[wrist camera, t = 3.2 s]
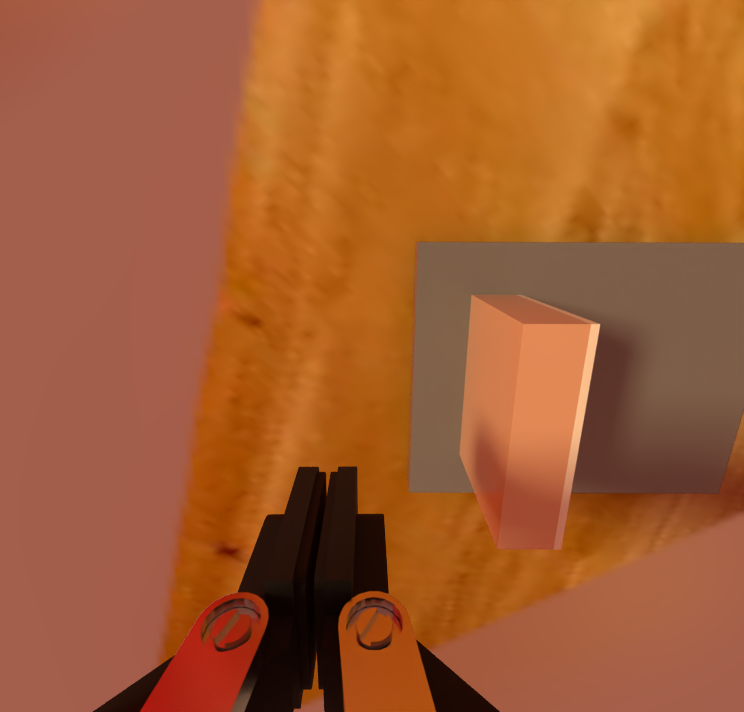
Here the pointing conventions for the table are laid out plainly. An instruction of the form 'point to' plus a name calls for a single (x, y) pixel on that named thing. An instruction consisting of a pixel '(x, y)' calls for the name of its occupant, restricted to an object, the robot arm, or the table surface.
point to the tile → (524, 414)
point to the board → (612, 357)
